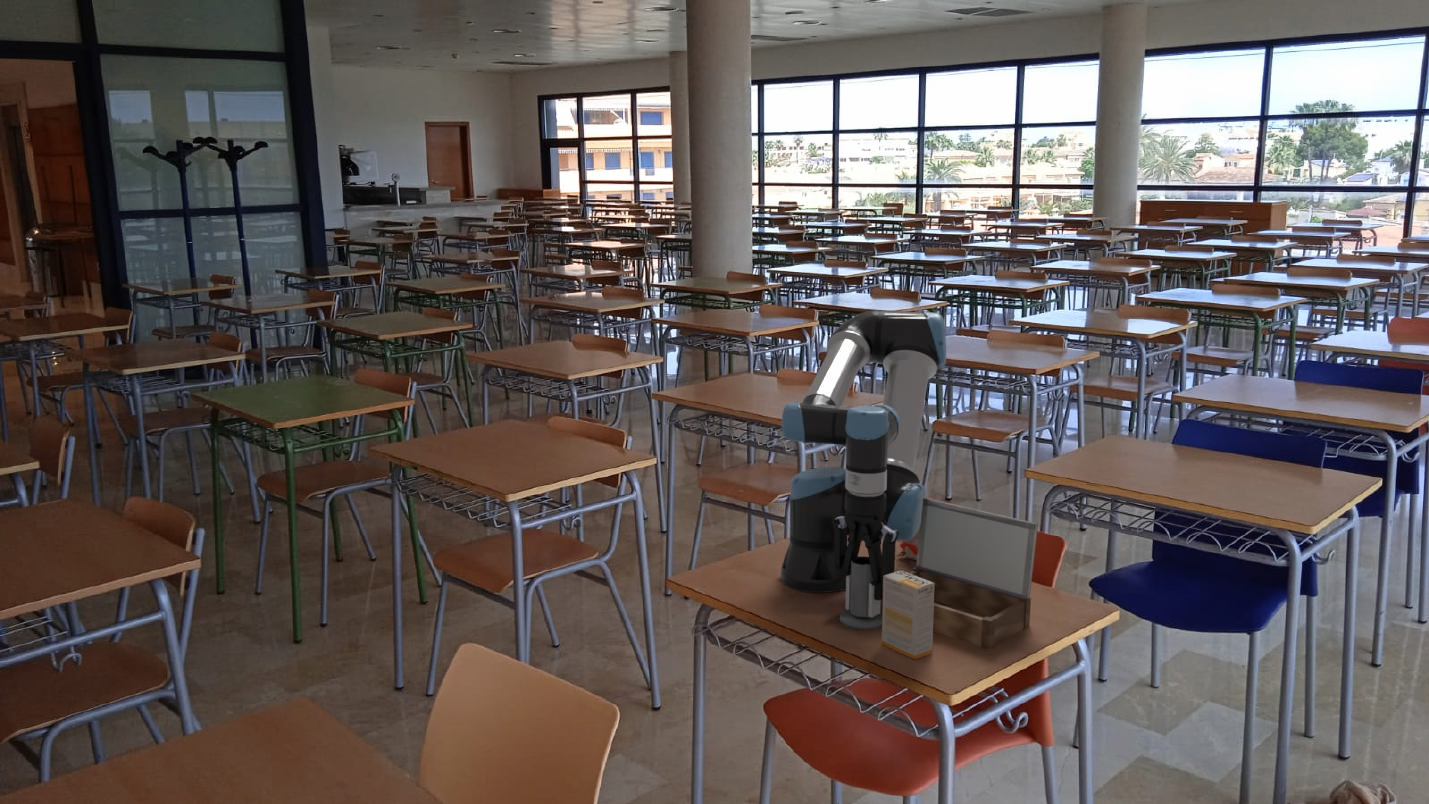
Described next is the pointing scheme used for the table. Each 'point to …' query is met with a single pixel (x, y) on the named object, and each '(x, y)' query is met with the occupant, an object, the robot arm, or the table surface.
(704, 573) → the table surface
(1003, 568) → the lid
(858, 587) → the grey cylindrical cup
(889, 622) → the supplement box
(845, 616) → the saucer
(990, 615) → the cold frame
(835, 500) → the robot arm
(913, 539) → the figurine
